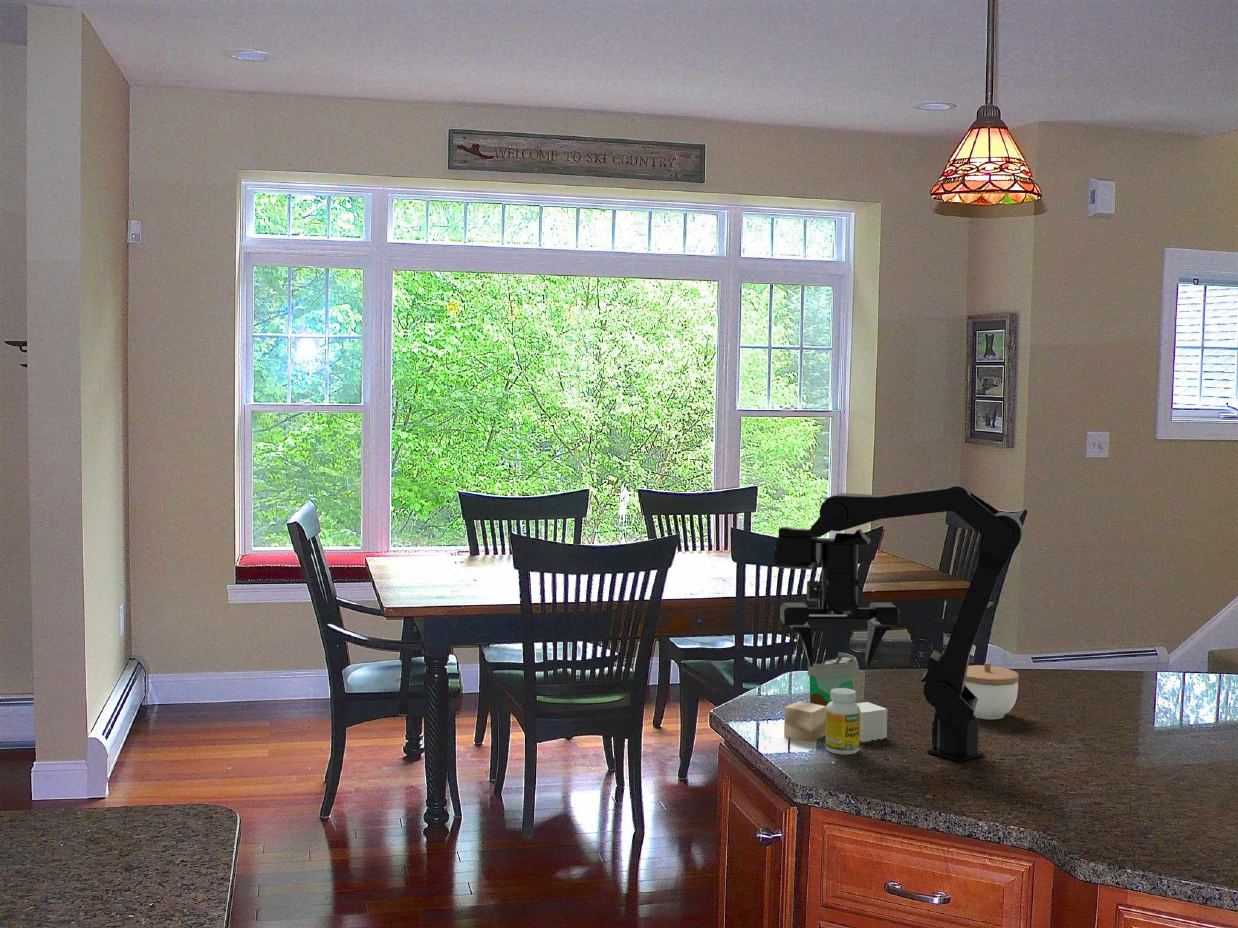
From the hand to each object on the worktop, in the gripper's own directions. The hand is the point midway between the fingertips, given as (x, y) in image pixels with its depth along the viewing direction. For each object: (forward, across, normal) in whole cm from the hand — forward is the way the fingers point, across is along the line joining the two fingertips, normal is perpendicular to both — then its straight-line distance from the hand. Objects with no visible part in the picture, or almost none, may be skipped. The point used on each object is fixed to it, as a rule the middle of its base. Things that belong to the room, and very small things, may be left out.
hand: (839, 665), depth 190 cm
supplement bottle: (+13, 0, +5) cm, 14 cm away
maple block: (+12, +5, -2) cm, 14 cm away
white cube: (+12, -5, -3) cm, 14 cm away
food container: (+12, -3, -15) cm, 20 cm away
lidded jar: (+13, -29, -17) cm, 36 cm away
